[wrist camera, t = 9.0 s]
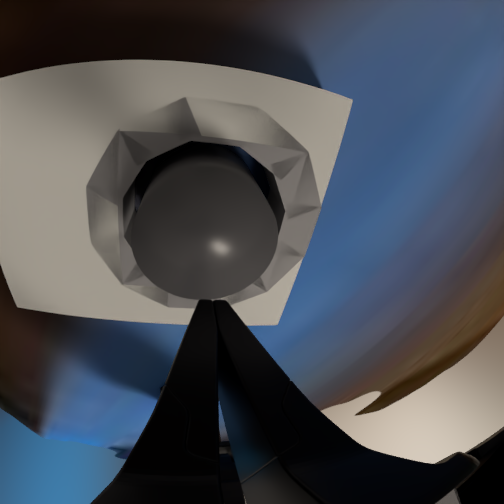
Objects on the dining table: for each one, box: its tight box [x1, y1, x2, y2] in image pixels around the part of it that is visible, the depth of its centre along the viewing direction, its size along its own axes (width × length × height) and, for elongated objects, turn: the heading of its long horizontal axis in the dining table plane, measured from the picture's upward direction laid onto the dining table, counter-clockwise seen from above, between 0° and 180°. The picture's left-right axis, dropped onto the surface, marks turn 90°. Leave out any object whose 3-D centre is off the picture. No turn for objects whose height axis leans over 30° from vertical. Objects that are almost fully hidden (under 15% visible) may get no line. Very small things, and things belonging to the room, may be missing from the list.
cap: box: [131, 144, 278, 300], centre depth 13 cm, size 6×6×5 cm
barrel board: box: [0, 60, 353, 325], centre depth 13 cm, size 14×18×3 cm
